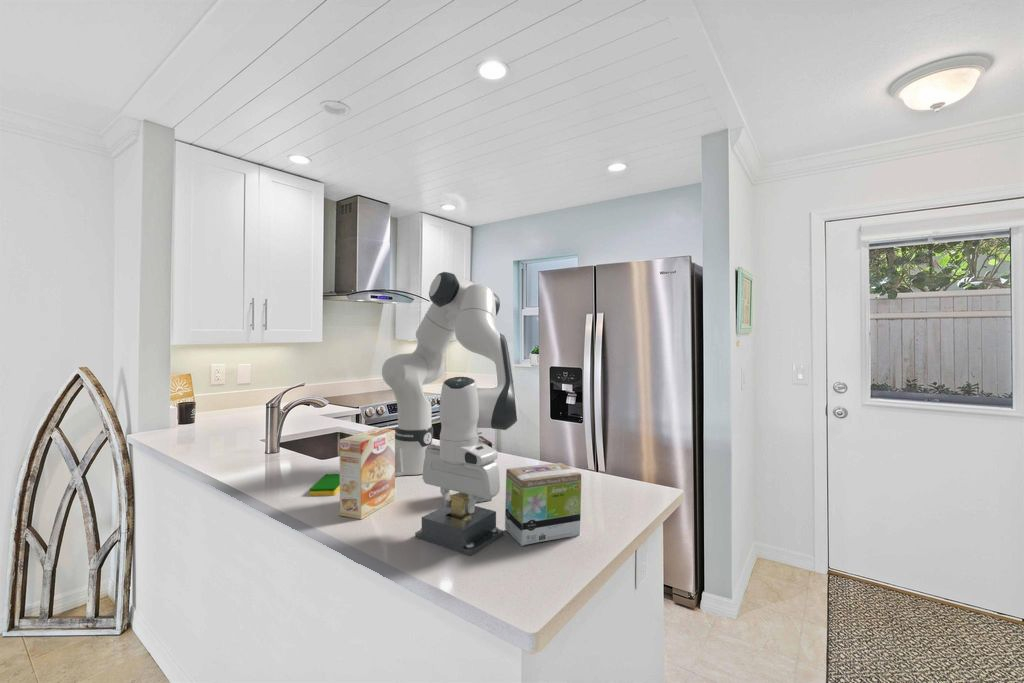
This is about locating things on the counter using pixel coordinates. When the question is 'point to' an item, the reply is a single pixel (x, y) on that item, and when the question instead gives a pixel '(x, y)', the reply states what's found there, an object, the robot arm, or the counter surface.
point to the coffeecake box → (367, 472)
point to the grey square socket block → (460, 530)
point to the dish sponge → (326, 486)
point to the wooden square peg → (459, 505)
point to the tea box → (542, 503)
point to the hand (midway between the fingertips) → (459, 509)
